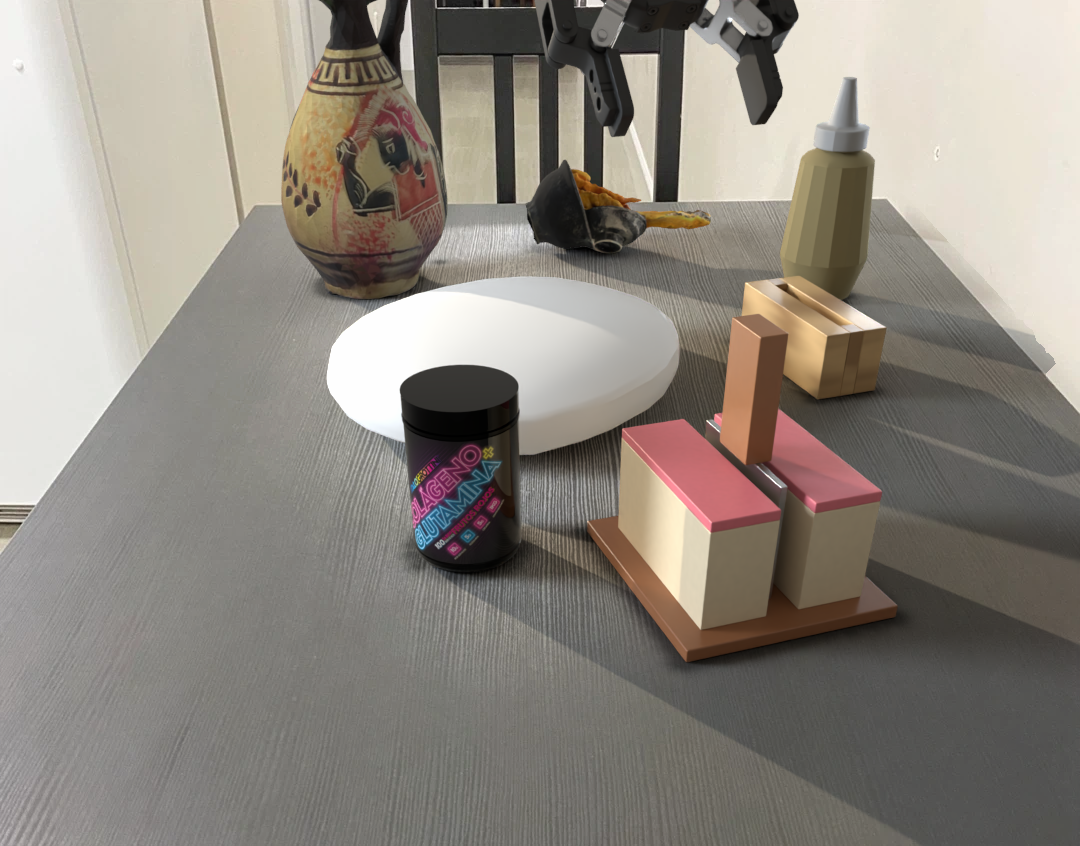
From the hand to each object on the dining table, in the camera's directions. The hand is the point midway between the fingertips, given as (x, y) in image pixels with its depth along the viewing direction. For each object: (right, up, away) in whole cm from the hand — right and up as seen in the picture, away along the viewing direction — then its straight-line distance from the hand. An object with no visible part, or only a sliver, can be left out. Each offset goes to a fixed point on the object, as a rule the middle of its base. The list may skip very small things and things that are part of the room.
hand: (696, 121), depth 59 cm
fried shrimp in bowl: (-1, +17, +56) cm, 59 cm away
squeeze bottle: (+18, +8, +45) cm, 49 cm away
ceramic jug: (-24, +10, +48) cm, 55 cm away
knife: (+3, -23, +6) cm, 24 cm away
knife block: (+13, -3, +31) cm, 34 cm away
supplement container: (-13, -22, +9) cm, 27 cm away
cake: (+3, -24, +6) cm, 25 cm away
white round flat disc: (-11, -7, +27) cm, 30 cm away
